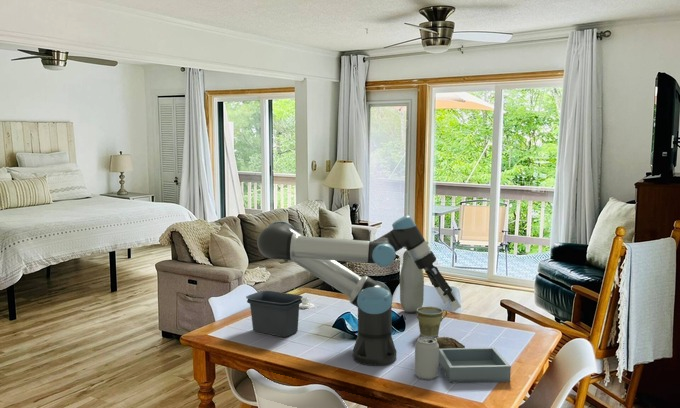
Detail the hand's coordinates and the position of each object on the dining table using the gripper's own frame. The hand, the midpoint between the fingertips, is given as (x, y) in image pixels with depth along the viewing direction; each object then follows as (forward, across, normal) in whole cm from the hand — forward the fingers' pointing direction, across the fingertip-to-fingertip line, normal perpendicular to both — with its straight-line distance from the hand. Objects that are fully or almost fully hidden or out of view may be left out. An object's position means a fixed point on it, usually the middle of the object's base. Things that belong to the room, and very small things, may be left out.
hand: (452, 304), depth 201 cm
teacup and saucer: (-20, +56, +54) cm, 80 cm away
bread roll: (+13, -2, +10) cm, 16 cm away
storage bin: (-22, +23, +63) cm, 70 cm away
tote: (+15, -22, +9) cm, 28 cm away
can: (+8, -24, +22) cm, 33 cm away
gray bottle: (+7, +44, +12) cm, 46 cm away
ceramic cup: (+10, +14, +11) cm, 21 cm away
